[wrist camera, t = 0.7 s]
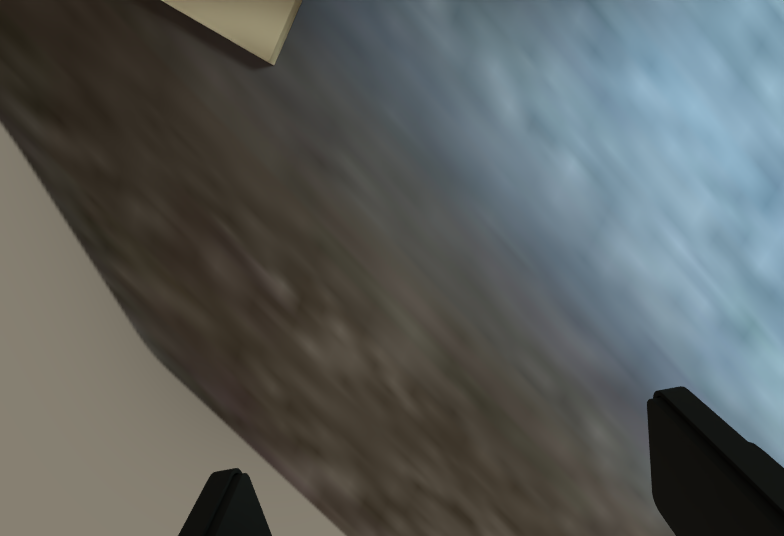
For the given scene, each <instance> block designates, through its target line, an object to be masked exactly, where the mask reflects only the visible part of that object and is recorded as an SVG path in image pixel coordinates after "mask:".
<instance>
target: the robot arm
mask: <svg viewBox="0 0 784 536" xmlns="http://www.w3.org/2000/svg"><path fill="white" fill-rule="evenodd" d="M647 413H648V430H649V447H650V464H651V481H652V494H653V499H654V502H655V504H656V506H657V508H658V510H659V512H660V513H661V515H662V516H663V518H664V519H665V521H666V522H667V523H668V525H669V526H670V528H671V529H672V531H673V532H674V533H675V535H676V536H784V468H783V467H782V466H781V465H780V464H778V463H777V462H776V461H775V460H774V459H773V458H771V457H770V456H769V455H768V454H767V453H766V452H764V451H763V450H762V449H761V448H759V447H758V446H757V445H755V444H754V443H751V442H748V441H746V440H745V439H744V438H743V437H742V436H741V435H740V434H738V433H737V432H736V431H735V430H734V429H733V428H732V427H730V426H729V425H728V424H727V423H726V422H725V421H724V420H722V419H721V418H720V417H719V416H718V415H717V414H716V413H714V412H713V411H712V410H711V409H710V408H709V407H708V406H706V405H705V404H704V403H703V402H702V401H701V400H700V399H698V398H697V397H696V396H695V395H694V394H693V393H692V392H690V391H689V390H688V389H687V388H685V387H682V386H680V387H675V388H670V389H664V390H659V391H656V392H655V393H654V395H653V399H649V400H648V401H647ZM178 536H272V535H271V532H270V529H269V527H268V524H267V522H266V519H265V516H264V514H263V511H262V508H261V506H260V503H259V501H258V498H257V496H256V493H255V490H254V488H253V485H252V482H251V480H250V477H249V476H248V474H247V473H242V472H241V470H240V469H238V468H234V469H229V470H223V471H217V472H214V473H212V474H211V476H210V477H209V479H208V481H207V482H206V484H205V486H204V488H203V490H202V492H201V494H200V496H199V498H198V499H197V501H196V503H195V505H194V507H193V509H192V511H191V513H190V514H189V516H188V518H187V520H186V522H185V524H184V526H183V528H182V529H181V531H180V533H179V535H178Z"/></svg>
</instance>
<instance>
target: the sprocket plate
mask: <svg viewBox="0 0 784 536" xmlns="http://www.w3.org/2000/svg"><path fill="white" fill-rule="evenodd" d="M161 1H163V2H165V3H167V4H168V5H170V6H172V7H173V8H175V9H177V10H179V11H180V12H182V13H184V14H186V15H187V16H189V17H191V18H192V19H194V20H196V21H198V22H199V23H201V24H203V25H205V26H206V27H208V28H210V29H211V30H213V31H215V32H217V33H218V34H220V35H222V36H224V37H225V38H227V39H229V40H230V41H232V42H234V43H236V44H237V45H239V46H241V47H243V48H244V49H246V50H248V51H249V52H251V53H253V54H255V55H256V56H258V57H260V58H262V59H263V60H265V61H267V62H268V63H270V64H272V65H275V62H276V60H277V58H278V55H279V53H280V51H281V48H282V46H283V44H284V42H285V39H286V37H287V35H288V32H289V30H290V28H291V25H292V23H293V21H294V18H295V16H296V14H297V12H298V9H299V7H300V5H301V2H302V0H161Z"/></svg>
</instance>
